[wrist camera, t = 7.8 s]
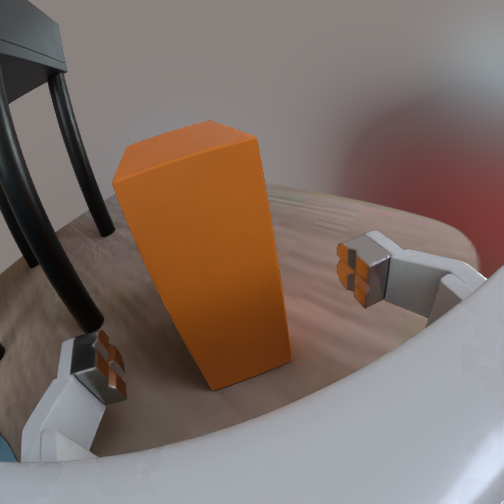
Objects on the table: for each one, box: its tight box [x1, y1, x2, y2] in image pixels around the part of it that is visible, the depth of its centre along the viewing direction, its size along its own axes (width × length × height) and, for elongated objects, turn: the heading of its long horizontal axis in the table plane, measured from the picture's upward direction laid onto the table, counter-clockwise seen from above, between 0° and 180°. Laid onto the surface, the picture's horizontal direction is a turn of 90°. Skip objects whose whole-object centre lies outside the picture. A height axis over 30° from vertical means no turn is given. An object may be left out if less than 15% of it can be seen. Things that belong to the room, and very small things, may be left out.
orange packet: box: [112, 120, 292, 391], centre depth 12 cm, size 4×6×10 cm, turn 20°
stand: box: [0, 65, 115, 360], centre depth 17 cm, size 12×16×18 cm
